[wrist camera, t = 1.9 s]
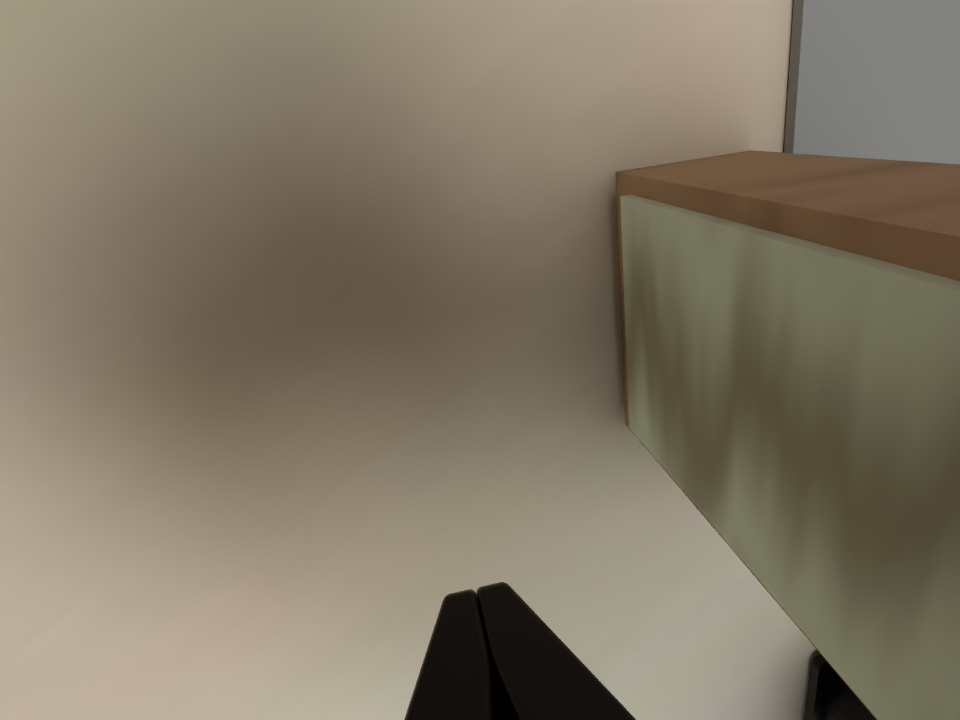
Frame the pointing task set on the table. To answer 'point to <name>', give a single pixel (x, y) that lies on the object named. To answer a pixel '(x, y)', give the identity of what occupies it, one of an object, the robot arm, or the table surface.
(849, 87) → the mat
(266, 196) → the table surface
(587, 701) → the robot arm
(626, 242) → the brown green box
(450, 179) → the table surface
